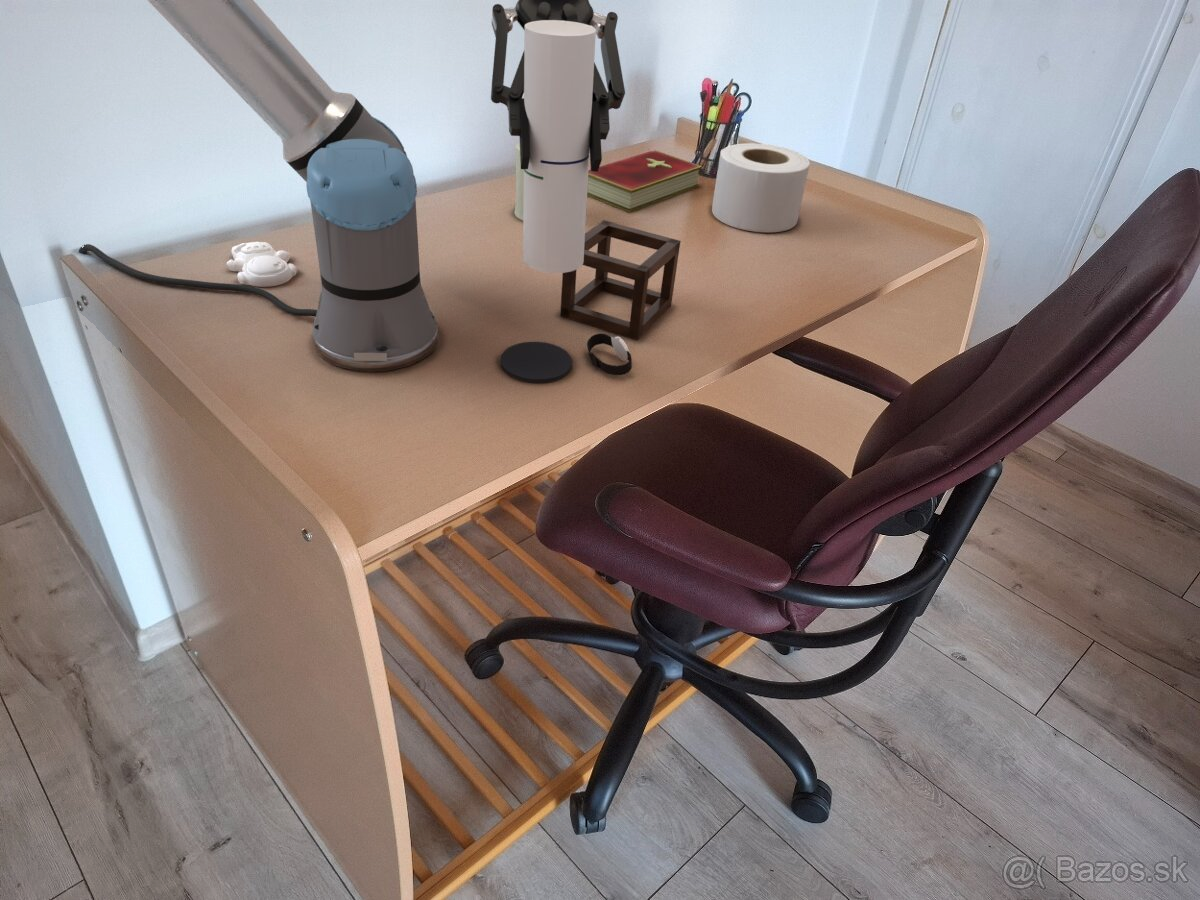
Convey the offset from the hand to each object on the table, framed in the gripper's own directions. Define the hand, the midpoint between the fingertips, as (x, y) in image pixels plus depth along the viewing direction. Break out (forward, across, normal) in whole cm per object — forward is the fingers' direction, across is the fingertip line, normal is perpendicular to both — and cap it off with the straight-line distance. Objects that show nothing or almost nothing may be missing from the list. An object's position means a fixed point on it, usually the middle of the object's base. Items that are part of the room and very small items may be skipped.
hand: (561, 164), depth 88 cm
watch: (+17, -8, -19) cm, 27 cm away
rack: (+7, -11, -29) cm, 32 cm away
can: (-17, -4, -54) cm, 56 cm away
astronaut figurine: (-2, +38, -39) cm, 54 cm away
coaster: (+17, +2, -19) cm, 26 cm away
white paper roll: (-18, -42, -54) cm, 71 cm away
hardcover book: (-26, -24, -63) cm, 72 cm away
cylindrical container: (+7, 0, -12) cm, 13 cm away
